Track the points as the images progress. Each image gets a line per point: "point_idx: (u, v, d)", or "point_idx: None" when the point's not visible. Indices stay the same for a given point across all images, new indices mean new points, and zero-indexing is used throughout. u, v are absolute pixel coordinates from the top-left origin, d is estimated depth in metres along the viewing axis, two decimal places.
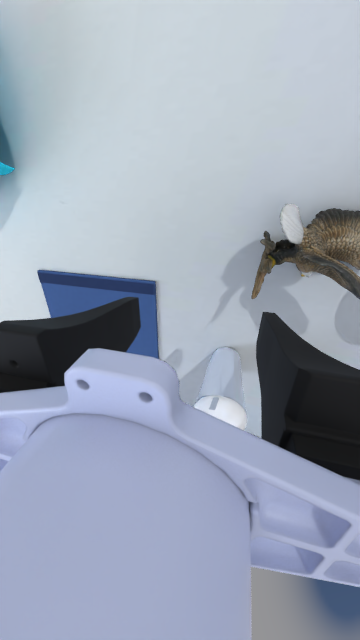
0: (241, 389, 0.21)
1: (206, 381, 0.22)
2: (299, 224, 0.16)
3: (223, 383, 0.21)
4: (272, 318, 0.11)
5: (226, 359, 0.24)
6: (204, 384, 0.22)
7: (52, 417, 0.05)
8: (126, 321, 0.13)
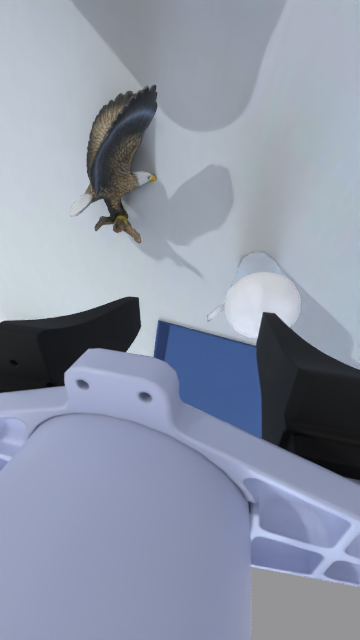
0: (249, 267, 0.16)
1: None
2: (81, 197, 0.18)
3: None
4: (272, 318, 0.11)
5: (236, 272, 0.20)
6: None
7: (52, 417, 0.05)
8: (126, 321, 0.13)
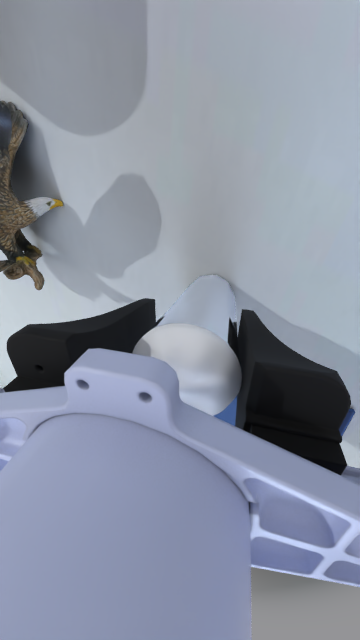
0: (171, 308, 0.11)
1: None
2: None
3: None
4: (249, 315, 0.11)
5: None
6: None
7: (52, 417, 0.05)
8: (143, 323, 0.13)
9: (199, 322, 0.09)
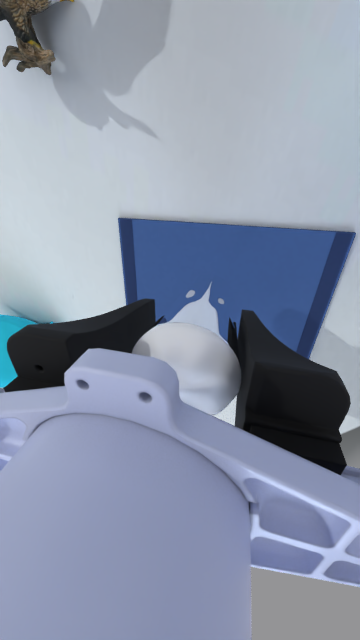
0: (171, 308, 0.11)
1: None
2: None
3: None
4: (248, 315, 0.11)
5: None
6: None
7: (52, 417, 0.05)
8: (143, 323, 0.13)
9: (199, 322, 0.09)
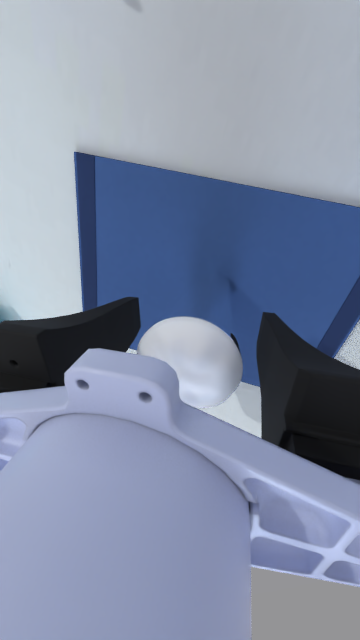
0: (174, 304, 0.12)
1: None
2: None
3: None
4: (272, 318, 0.11)
5: None
6: None
7: (52, 417, 0.05)
8: (126, 321, 0.13)
9: (202, 316, 0.09)
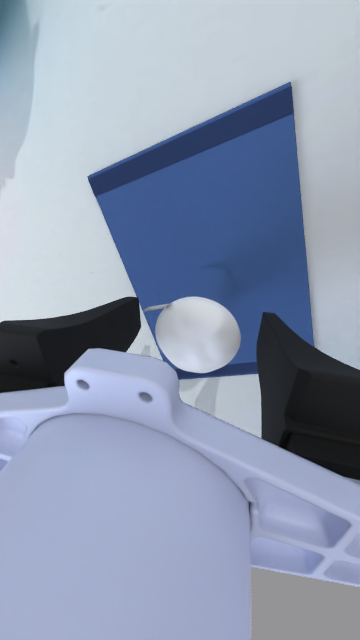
0: (220, 290, 0.14)
1: None
2: None
3: (186, 290, 0.13)
4: (272, 318, 0.11)
5: (200, 274, 0.17)
6: None
7: (52, 417, 0.05)
8: (126, 321, 0.13)
9: None
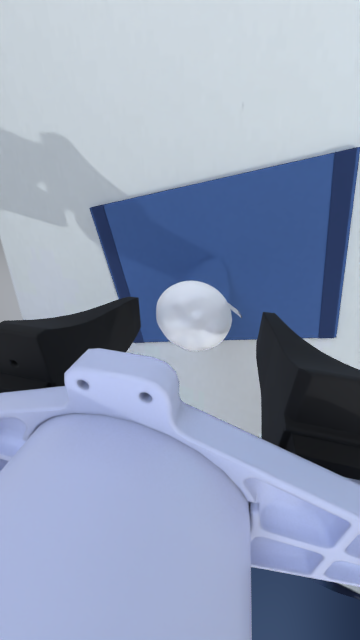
0: None
1: (212, 275, 0.15)
2: None
3: (229, 298, 0.15)
4: (272, 318, 0.11)
5: (227, 279, 0.18)
6: (208, 275, 0.15)
7: (52, 417, 0.05)
8: (126, 321, 0.13)
9: None
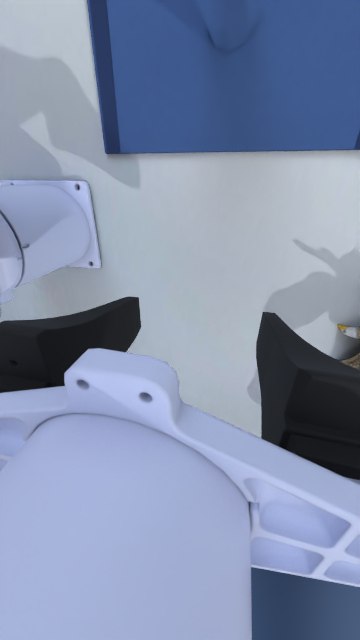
0: None
1: None
2: None
3: None
4: (272, 318, 0.11)
5: None
6: None
7: (52, 417, 0.05)
8: (126, 321, 0.13)
9: None
